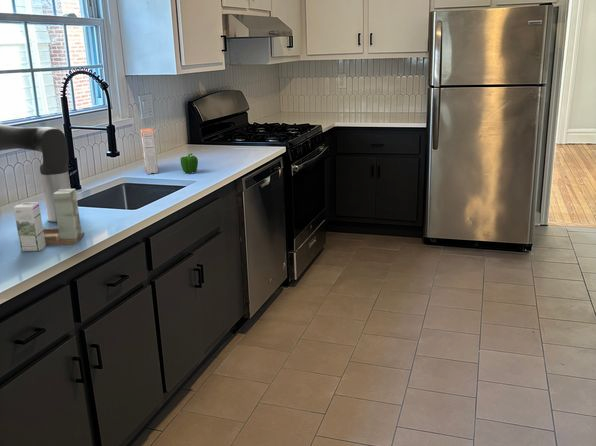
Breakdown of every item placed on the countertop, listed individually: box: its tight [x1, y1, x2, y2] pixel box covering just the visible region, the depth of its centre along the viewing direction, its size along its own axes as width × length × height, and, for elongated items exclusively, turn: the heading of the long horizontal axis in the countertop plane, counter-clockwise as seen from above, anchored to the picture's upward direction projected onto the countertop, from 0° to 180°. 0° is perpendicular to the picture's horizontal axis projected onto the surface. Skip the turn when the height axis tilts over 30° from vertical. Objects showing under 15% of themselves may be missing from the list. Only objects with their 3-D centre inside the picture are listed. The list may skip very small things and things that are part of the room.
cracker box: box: [140, 127, 159, 175], centre depth 289 cm, size 14×6×21 cm, turn 17°
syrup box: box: [12, 201, 47, 253], centre depth 179 cm, size 6×6×14 cm
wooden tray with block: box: [43, 188, 85, 246], centre depth 187 cm, size 9×14×16 cm, turn 93°
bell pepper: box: [179, 152, 199, 174], centre depth 285 cm, size 8×8×10 cm
